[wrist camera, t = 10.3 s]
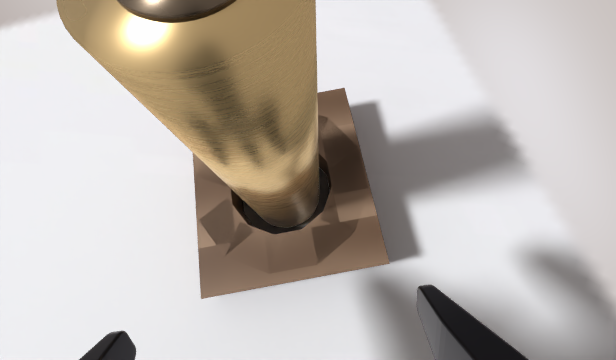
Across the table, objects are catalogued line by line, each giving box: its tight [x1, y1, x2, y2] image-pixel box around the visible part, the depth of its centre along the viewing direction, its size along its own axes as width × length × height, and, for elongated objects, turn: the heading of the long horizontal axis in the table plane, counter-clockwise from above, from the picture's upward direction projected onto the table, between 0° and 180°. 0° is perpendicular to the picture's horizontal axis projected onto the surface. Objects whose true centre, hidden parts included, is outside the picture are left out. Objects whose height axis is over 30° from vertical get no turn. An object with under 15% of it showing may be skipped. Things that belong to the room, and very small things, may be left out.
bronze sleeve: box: [57, 0, 319, 228], centre depth 12 cm, size 4×4×15 cm
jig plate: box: [193, 88, 390, 299], centre depth 18 cm, size 11×10×2 cm
